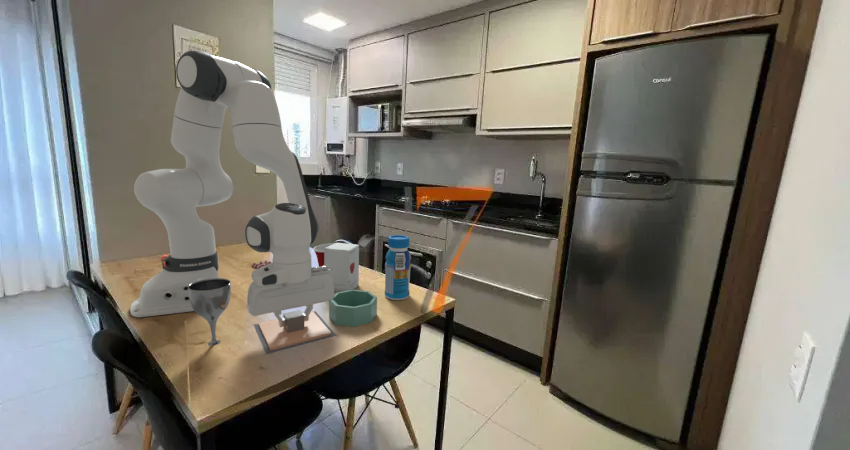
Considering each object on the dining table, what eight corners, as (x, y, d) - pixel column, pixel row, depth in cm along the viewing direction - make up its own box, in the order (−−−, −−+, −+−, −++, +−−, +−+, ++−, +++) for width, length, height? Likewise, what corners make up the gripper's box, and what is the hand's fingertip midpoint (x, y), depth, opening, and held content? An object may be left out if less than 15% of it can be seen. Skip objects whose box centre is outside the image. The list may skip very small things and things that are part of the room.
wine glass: (205, 337, 82) (201, 277, 79) (240, 337, 83) (236, 278, 80) (185, 355, 74) (180, 290, 72) (223, 355, 75) (219, 290, 72)
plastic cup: (311, 274, 130) (311, 243, 128) (340, 271, 134) (340, 241, 132) (315, 283, 120) (315, 250, 118) (346, 280, 125) (346, 248, 123)
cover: (270, 350, 76) (269, 333, 75) (258, 325, 87) (257, 310, 87) (331, 334, 84) (330, 319, 84) (313, 313, 95) (312, 299, 95)
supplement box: (348, 294, 112) (349, 250, 109) (323, 291, 113) (323, 248, 111) (359, 285, 121) (359, 244, 118) (335, 282, 122) (335, 242, 120)
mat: (266, 357, 75) (266, 354, 75) (253, 327, 88) (253, 324, 88) (336, 338, 84) (336, 335, 84) (315, 313, 97) (315, 311, 97)
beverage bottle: (379, 297, 111) (380, 237, 107) (392, 289, 118) (394, 233, 114) (401, 303, 107) (404, 241, 103) (414, 294, 115) (416, 236, 111)
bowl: (341, 332, 87) (341, 311, 86) (324, 314, 97) (324, 294, 95) (382, 322, 94) (383, 301, 93) (363, 306, 103) (363, 287, 102)
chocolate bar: (275, 279, 123) (275, 274, 123) (251, 267, 135) (251, 263, 135) (293, 275, 129) (293, 270, 129) (269, 264, 141) (269, 259, 140)
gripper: (329, 261, 92) (329, 309, 94) (244, 272, 80) (247, 327, 82) (338, 268, 86) (338, 318, 89) (248, 281, 75) (251, 339, 77)
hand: (293, 323), depth 86 cm, fingers closed on cover, 4 cm apart
